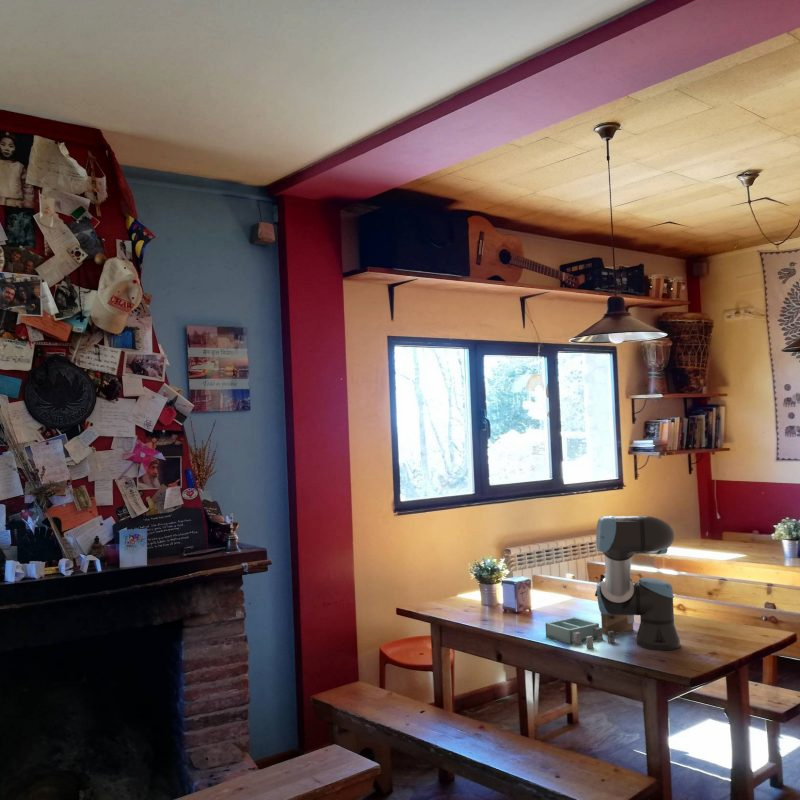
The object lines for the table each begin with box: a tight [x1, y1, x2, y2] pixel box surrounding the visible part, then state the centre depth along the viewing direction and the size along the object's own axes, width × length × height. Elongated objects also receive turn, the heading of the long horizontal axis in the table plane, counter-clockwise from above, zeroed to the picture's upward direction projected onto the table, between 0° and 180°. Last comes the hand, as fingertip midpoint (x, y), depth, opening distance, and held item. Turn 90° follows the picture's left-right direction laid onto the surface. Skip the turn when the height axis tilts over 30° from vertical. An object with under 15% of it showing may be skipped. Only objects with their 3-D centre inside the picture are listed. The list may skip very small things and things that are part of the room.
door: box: [600, 612, 634, 636], centre depth 306 cm, size 4×14×9 cm, turn 122°
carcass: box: [545, 616, 600, 645], centre depth 300 cm, size 13×15×5 cm
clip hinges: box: [571, 626, 616, 650], centre depth 291 cm, size 8×13×4 cm, turn 122°
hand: (617, 619), depth 306 cm, fingers open, 13 cm apart
